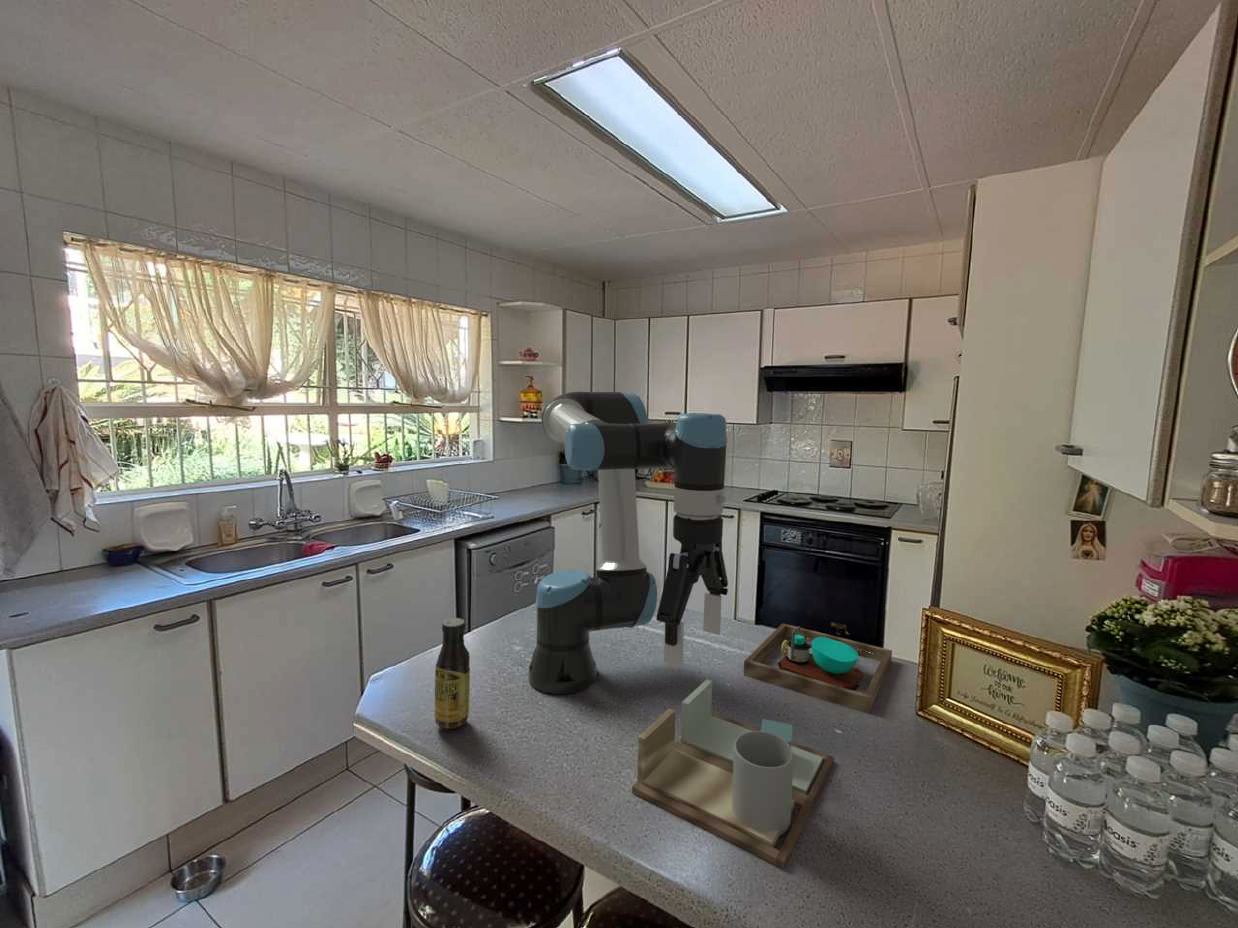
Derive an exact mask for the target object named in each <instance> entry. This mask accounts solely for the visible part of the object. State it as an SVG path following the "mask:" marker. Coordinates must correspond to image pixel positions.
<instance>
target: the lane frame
mask: <svg viewBox="0 0 1238 928" xmlns="http://www.w3.org/2000/svg"><path fill="white" fill-rule="evenodd" d="M711 716H713V717H716V718H719V719H721V720H724V721H727V722H729V723H732V724H735V725H737V726H740V727H743V728H746V729H748V730H751V731H761V729H759V728H756V727H753V726H750V725H747V724H745V723H743V722H739V721H737V720H735V719H732V718H728V717H726V716H723V715H721V714H717V713H716V712H713V711H711ZM791 746H794V747H797V748H799V749H802V750H805V751H807V752H810V753H813V754H815V755H818V756H821V757H823V763H822V766H821V768H820V770H819V772H818V774H817V776H816V778H815V780H814V782H813V784H812V786H811V788H810V790H809V792H808V794H807V795H806V794H804V793H801V792H799V791H797V790H794V789H792V798H791V799H793V800H795V802H794V808H795V809H797V810H799V812H798V814H797V816H796V818H795V820H794V822H793V824H792V825H791V828H790V830H789V832H788V833H787V836H786V838H785V839H784V842H783V844H782V846H781V848H780V850H779V849H777V848H775V847H771V846H769V845H767V844H765V843H763V842H761V841H759V840H757V839H755V838H752V837H750V836H748V835H746V834H744V833H742V832H740V831H738V830H736V829H734V828H732V827H730V826H728V825H726V824H724V823H722V822H720V821H718V820H716V819H714V818H711V817H709V816H707V815H705V814H703V813H701V812H699V811H697V810H695V809H693V808H691V807H689V806H687V805H685V804H683V803H681V802H679V801H677V800H675V799H672V798H670V797H668V796H666V795H664V794H662V793H660V792H658V791H656V790H654V789H652V788H650V787H648V786H646V785H644V784H642V783H640V782H638V781H636V782H635V783H634V784H633V785H632V786H631V793H632V794H634V795H636V796H638V797H640V798H642V799H643V800H646V801H648V802H650V803H651V804H654V805H655V806H658V807H660V808H661V809H663V810H666V811H668V812H670V813H671V814H674V815H676V816H678V817H679V818H682V819H683V820H685V821H688V822H689V823H691V824H693V825H696V826H697V827H699V828H701V829H703V830H705V831H707V832H709V833H711V834H714V835H715V836H717V837H719V838H722V839H723V840H725V841H727V842H729V843H731V844H734V845H735V846H737V847H738V848H741V849H743V850H745V851H748V852H749V853H751V854H752V855H754V856H757V857H759V858H761V859H763V860H765V861H767V862H769V863H771V864H772V865H774V866H777V867H779V868H781V869H783V870H784V869H785V866H786V865H787V862H788V860H789V858H790V855H791V853H792V851H793V849H794V846H795V844H796V843H797V841H798V839H799V837H800V834H801V832H802V830H803V829H804V825H805V823H806V822H807V820H808V817H809V815H810V813H811V811H812V809H813V808H814V805H815V803H816V801H817V798H818V796H819V794H820V793H821V790H822V788H823V785H824V784H825V781H826V780H827V777H828V775H829V773H830V771H831V769H832V767H833V765H834V763H835V760H834V759H835V757H834V756H833V755H830V754H827V753H824V752H821V751H818V750H816V749H813V748H810V747H807V746H805V745H803V744H799V743H796V742H794V741H792V745H791ZM674 749H676V750H678V751H681V752H683V753H686V754H688V755H690V756H693V757H695V758H697V759H700V760H702V761H704V762H707V763H709V764H711V765H714V766H716V767H718V768H721V769H723V770H725V771H728V772H730V773H732V774H733V764H732V763H729V762H727V761H725V760H722V759H720V758H717V757H715V756H713V755H710V754H708V753H705V752H703V751H701V750H698V749H696V748H693V747H691V746H689V745H686V744H684V743H681V741H679V740H675V744H674Z"/></svg>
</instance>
